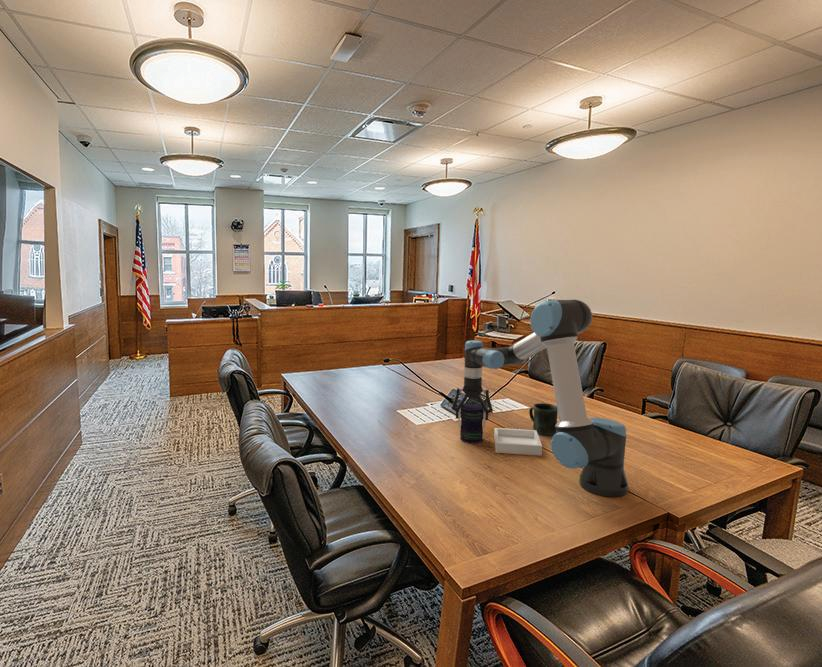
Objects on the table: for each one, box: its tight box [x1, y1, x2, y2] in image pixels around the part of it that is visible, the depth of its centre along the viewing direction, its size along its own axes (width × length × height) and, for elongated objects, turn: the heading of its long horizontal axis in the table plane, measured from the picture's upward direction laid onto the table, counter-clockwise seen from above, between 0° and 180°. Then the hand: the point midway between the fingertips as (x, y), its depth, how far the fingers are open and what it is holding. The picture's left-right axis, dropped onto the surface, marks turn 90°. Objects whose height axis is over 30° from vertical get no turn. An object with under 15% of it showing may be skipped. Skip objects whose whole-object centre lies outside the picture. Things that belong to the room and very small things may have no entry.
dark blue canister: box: [459, 402, 484, 444], centre depth 189 cm, size 10×10×15 cm
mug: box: [528, 402, 558, 436], centre depth 200 cm, size 11×15×12 cm
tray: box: [493, 427, 543, 456], centre depth 183 cm, size 18×18×4 cm
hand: (471, 426), depth 189 cm, fingers open, 10 cm apart
